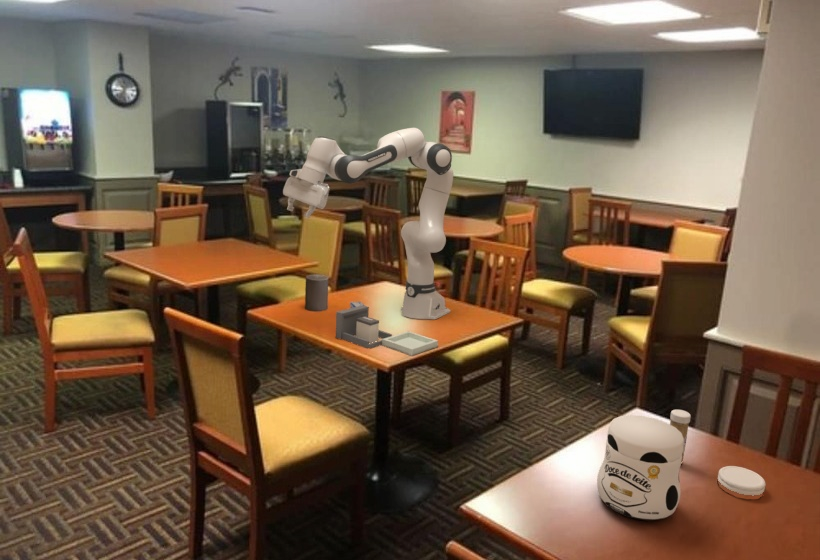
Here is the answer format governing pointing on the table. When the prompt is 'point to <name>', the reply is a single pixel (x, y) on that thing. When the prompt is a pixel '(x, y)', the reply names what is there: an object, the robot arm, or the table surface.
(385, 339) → the tray
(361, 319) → the block
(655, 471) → the doce de leite jar
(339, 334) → the bay
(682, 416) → the sprinkles bottle
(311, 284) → the pillar candle
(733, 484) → the white round piece
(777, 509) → the table surface
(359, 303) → the medicine box
